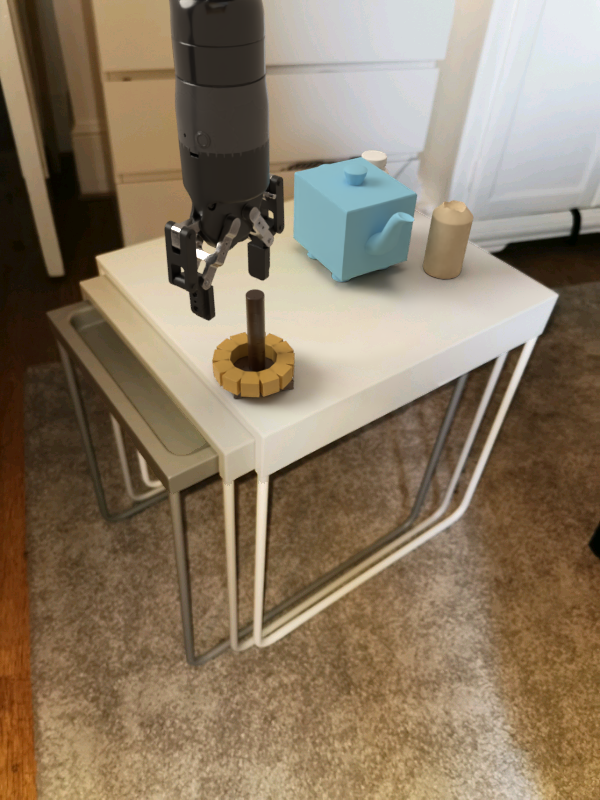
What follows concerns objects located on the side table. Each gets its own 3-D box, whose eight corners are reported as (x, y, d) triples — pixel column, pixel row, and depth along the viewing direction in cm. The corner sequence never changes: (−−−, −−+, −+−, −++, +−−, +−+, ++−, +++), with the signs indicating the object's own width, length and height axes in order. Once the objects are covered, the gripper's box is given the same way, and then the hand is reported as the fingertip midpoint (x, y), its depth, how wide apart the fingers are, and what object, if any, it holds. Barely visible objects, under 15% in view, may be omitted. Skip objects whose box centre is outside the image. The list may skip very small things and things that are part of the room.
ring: (233, 407, 69) (232, 393, 68) (202, 357, 75) (200, 344, 74) (308, 382, 72) (308, 368, 71) (272, 336, 78) (272, 323, 77)
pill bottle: (369, 219, 103) (374, 165, 97) (346, 207, 106) (350, 154, 99) (391, 209, 105) (398, 156, 99) (367, 197, 108) (373, 145, 102)
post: (233, 399, 72) (228, 318, 64) (222, 360, 77) (216, 280, 69) (293, 388, 73) (295, 308, 65) (278, 351, 78) (279, 272, 70)
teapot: (284, 239, 97) (284, 150, 88) (344, 223, 102) (351, 135, 92) (365, 315, 84) (377, 219, 74) (432, 292, 88) (451, 198, 78)
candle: (449, 283, 90) (464, 218, 83) (415, 270, 92) (426, 205, 85) (467, 267, 93) (482, 203, 86) (434, 254, 95) (446, 191, 88)
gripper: (241, 98, 58) (247, 254, 70) (127, 147, 50) (154, 316, 61) (309, 117, 55) (303, 277, 67) (201, 173, 47) (215, 346, 58)
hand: (232, 296), depth 64 cm, fingers open, 8 cm apart
